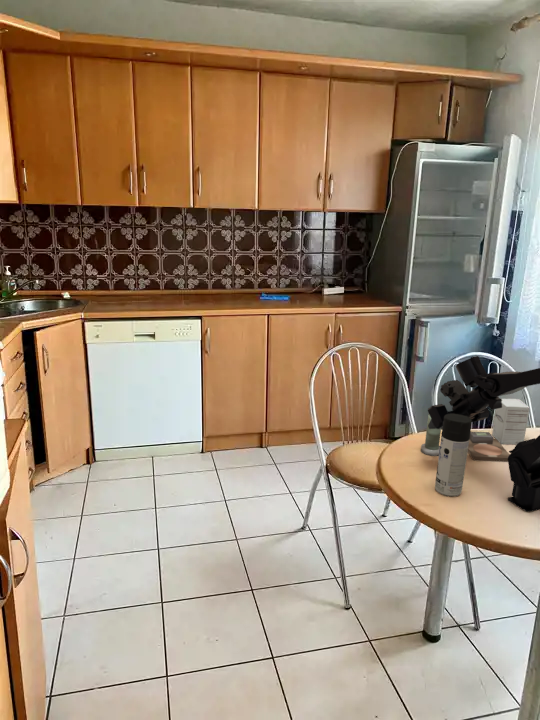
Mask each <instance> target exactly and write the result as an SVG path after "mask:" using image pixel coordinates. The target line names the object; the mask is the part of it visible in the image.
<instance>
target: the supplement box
mask: <svg viewBox="0 0 540 720" xmlns="http://www.w3.org/2000/svg"><path fill="white" fill-rule="evenodd" d="M501 399H502V408H498V409H495V413H494V419H493V426H492V433H491V435H492V436H493V437H494V438H496V439H497V441H498V442H499V443H500V444H501V445H508V446H509V445H512V446H513V445H514V446H516V445H517V444H518V443H519V442H522V441H525V437H526V432H527V425H528V419H529V416H530V415H529V414H530V410H531V409H530V406H529V405H528V404H526V403H525V402H523V401H522V400H521V399H519V398H501Z"/></svg>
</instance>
